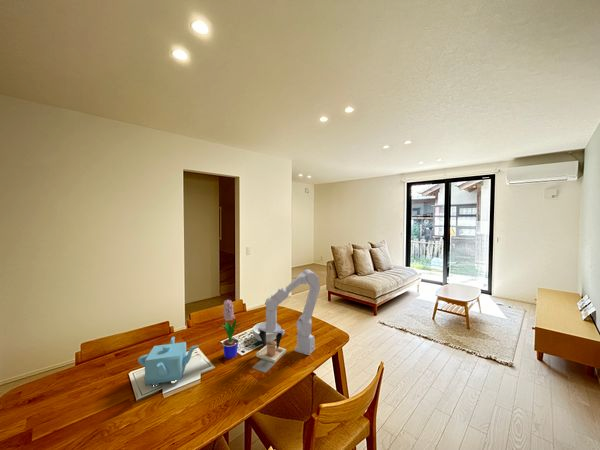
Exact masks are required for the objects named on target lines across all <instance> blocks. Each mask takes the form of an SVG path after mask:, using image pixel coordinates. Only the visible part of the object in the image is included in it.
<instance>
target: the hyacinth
mask: <svg viewBox="0 0 600 450" xmlns="http://www.w3.org/2000/svg"><path fill="white" fill-rule="evenodd" d="M222 305H223V309H222V313H223V319H224V320H225V323H224V324H221V326H222V327H223V329H224V330H225V332H226V334H227V336H228V338H227V339H224V340H223V342H222V347H223V355H224V358H226V359H233V358H235V357H236V356H237V355H238V346H239V339H238V338H235V337H233V335H234V333H235V331H236V330H237V328H239V327H240V326H241V325H242V323H240V324H238V325H237V326H236V324H237V319H236V317H235V314H234V310H235V309H234V305H233V301H232V300H230V299H226V300H225V301H223V303H222ZM233 319H235V320H234V321H233V323H232V322H231V321H232V320H233Z"/></svg>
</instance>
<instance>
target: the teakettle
mask: <svg viewBox="0 0 600 450" xmlns="http://www.w3.org/2000/svg"><path fill="white" fill-rule="evenodd" d="M175 339H176V337H175V336H172V337H171V339H170V341H169V343H168V344H161V345H154V346H153V348H152V349H150V351H149V353H147V354H144V355H141V356H140V357H138V359H137V362H138V364H139V365H141V366H142V367H144V386H152V384H153V385H154V386H156V385H158V384H159V383H160V384H163V383H170V381H175V380H178V381H181V380H182V378H183V374H184V372H185V369H186V366H187V364H188V363H189V362H190V360H191V357H192V354H193V352H194V350H196V349H197V348H199V345H198V344H197V345H193V346H190V348H189V350H188V351H187V342H186V341H183V342H176V341H175ZM175 342H176V343H175ZM160 384H159V385H160ZM159 385H158V386H159ZM156 387H157V386H156Z"/></svg>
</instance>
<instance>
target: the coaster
mask: <svg viewBox="0 0 600 450" xmlns="http://www.w3.org/2000/svg"><path fill="white" fill-rule="evenodd" d="M274 365H276V362H275V363H274V362H271V361H268V360H265V359H262V358H260V360H258V362H257V363H255V365H253V366H252V369H254V370H257V371H259V372H261V373H264V374H266V373H267V372H269V371H270V369H271V368H273V366H274Z"/></svg>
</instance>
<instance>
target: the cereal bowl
mask: <svg viewBox="0 0 600 450" xmlns="http://www.w3.org/2000/svg"><path fill="white" fill-rule="evenodd" d="M258 327H266V321H262V322H259V323H256V324H255V325H254V326H253V327H252V335H253V338H255V340H257V341H259V342H262V340H261V337H260V336H259V333H260V332H258ZM277 328H280V329H281V325H280V324H279V323H277ZM276 335H277V333H267V332H266V343H267V342H268V341H271V340H272V341H276Z"/></svg>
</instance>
